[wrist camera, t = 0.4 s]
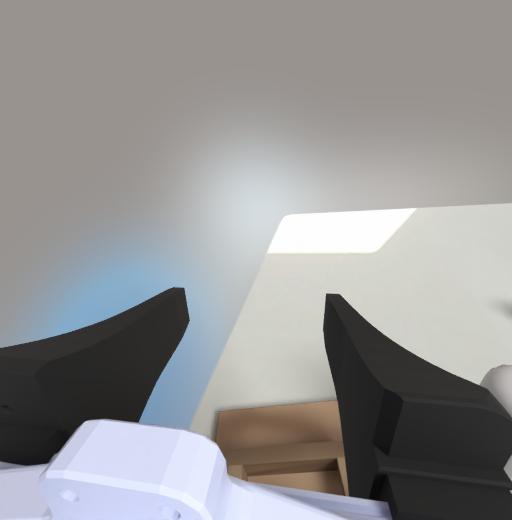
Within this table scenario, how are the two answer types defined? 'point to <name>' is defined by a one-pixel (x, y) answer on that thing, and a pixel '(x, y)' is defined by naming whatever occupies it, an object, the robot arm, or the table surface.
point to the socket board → (286, 446)
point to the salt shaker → (501, 394)
